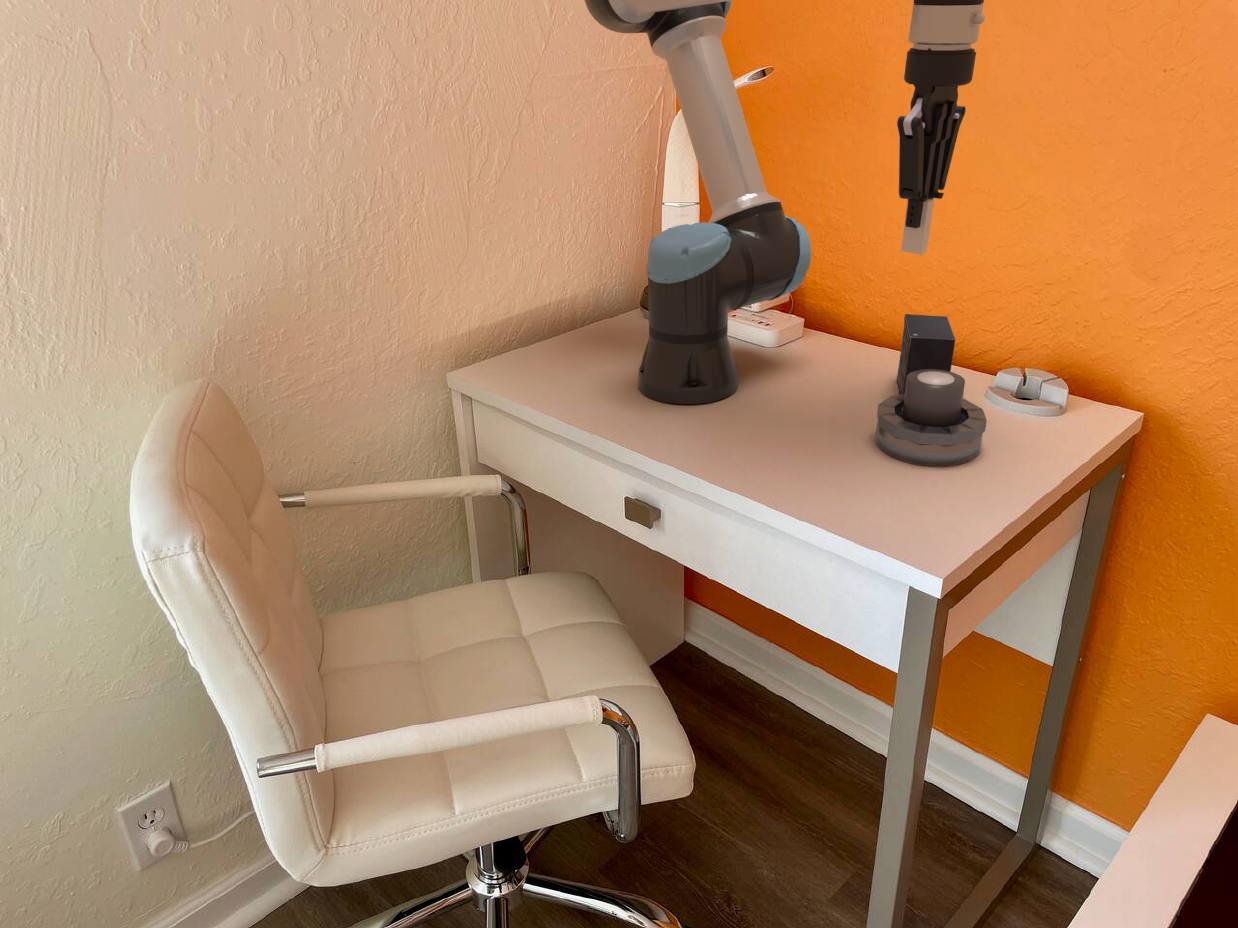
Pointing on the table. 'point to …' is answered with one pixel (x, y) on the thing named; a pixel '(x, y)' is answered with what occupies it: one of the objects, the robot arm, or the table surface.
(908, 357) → the small box
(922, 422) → the cap
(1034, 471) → the table surface
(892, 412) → the faceted ashtray
